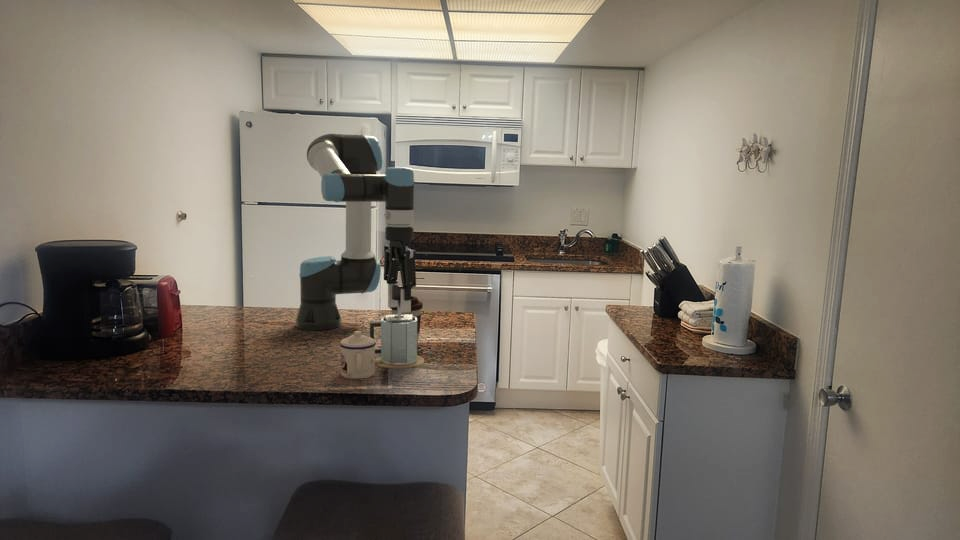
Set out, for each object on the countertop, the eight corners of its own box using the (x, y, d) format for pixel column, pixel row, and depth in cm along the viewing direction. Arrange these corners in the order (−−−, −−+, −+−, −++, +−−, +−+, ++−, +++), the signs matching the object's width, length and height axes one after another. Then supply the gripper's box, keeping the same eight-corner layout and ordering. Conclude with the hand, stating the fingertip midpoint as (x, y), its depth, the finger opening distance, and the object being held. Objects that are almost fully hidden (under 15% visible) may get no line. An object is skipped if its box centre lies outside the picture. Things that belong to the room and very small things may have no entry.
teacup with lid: (340, 370, 160) (339, 327, 159) (374, 368, 162) (374, 326, 161) (340, 385, 149) (339, 339, 147) (377, 383, 151) (377, 338, 149)
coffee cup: (416, 351, 180) (416, 301, 177) (385, 348, 181) (384, 299, 179) (426, 342, 189) (426, 295, 187) (396, 340, 191) (396, 293, 189)
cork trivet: (365, 360, 170) (365, 358, 170) (408, 352, 178) (408, 350, 178) (388, 373, 159) (388, 371, 158) (433, 365, 167) (433, 362, 167)
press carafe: (371, 355, 172) (371, 313, 170) (416, 355, 174) (417, 312, 172) (369, 366, 162) (369, 321, 160) (417, 365, 164) (417, 321, 162)
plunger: (385, 348, 171) (385, 283, 168) (412, 347, 172) (413, 283, 169) (384, 355, 164) (384, 288, 161) (413, 355, 165) (413, 288, 162)
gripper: (370, 223, 168) (371, 304, 172) (405, 228, 153) (404, 317, 156) (394, 222, 173) (394, 301, 176) (430, 228, 157) (429, 314, 160)
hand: (399, 309), depth 166 cm, fingers open, 7 cm apart
